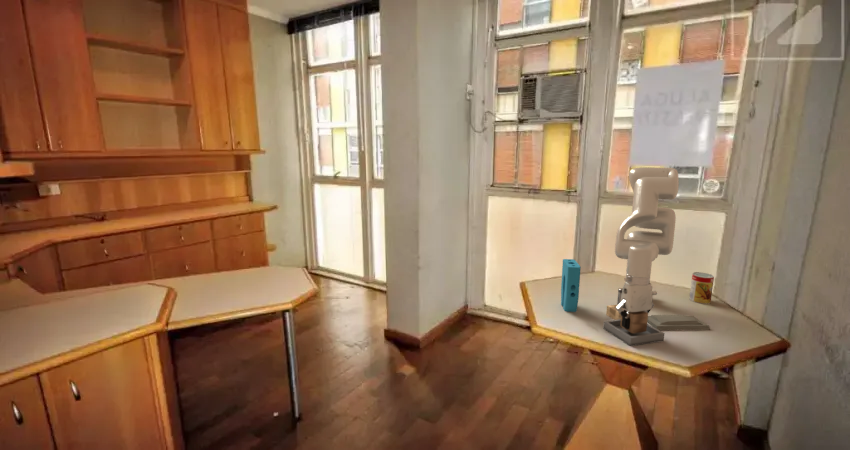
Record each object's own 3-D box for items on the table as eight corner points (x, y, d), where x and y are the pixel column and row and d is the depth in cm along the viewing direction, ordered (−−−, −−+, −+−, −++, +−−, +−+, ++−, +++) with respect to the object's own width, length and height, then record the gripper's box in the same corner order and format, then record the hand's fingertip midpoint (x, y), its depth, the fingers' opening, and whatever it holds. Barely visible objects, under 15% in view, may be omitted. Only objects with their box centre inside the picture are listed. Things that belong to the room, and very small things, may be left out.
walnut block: (633, 324, 149) (635, 306, 148) (646, 331, 143) (648, 313, 142) (620, 326, 148) (621, 308, 146) (632, 333, 142) (633, 315, 141)
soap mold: (710, 331, 149) (711, 322, 149) (657, 331, 149) (657, 323, 149) (692, 319, 159) (693, 311, 159) (642, 320, 159) (643, 312, 159)
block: (578, 313, 164) (581, 267, 161) (565, 313, 165) (568, 267, 161) (571, 302, 176) (574, 259, 172) (559, 302, 177) (562, 259, 173)
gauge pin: (619, 315, 162) (622, 287, 160) (624, 318, 160) (626, 289, 157) (614, 316, 162) (616, 288, 159) (618, 318, 159) (621, 290, 157)
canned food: (714, 304, 173) (718, 277, 171) (695, 303, 174) (698, 277, 172) (704, 297, 181) (707, 272, 178) (685, 296, 182) (688, 271, 179)
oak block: (620, 313, 165) (621, 304, 164) (633, 320, 158) (634, 310, 157) (606, 314, 163) (606, 305, 162) (618, 322, 156) (619, 312, 156)
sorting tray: (634, 324, 154) (635, 317, 154) (663, 341, 141) (664, 333, 140) (603, 328, 151) (603, 321, 150) (630, 346, 138) (630, 338, 137)
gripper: (624, 285, 136) (620, 333, 140) (666, 280, 140) (661, 327, 144) (609, 278, 143) (606, 324, 147) (649, 274, 147) (645, 319, 151)
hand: (633, 325), depth 145 cm, fingers open, 6 cm apart
